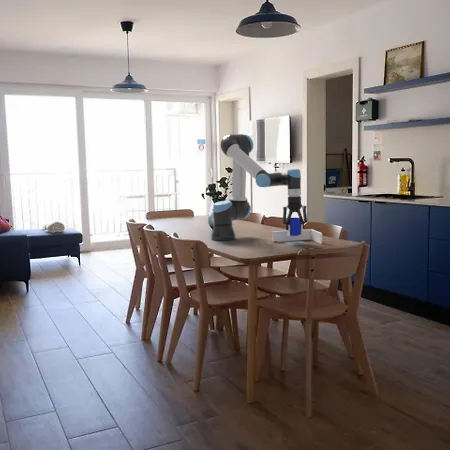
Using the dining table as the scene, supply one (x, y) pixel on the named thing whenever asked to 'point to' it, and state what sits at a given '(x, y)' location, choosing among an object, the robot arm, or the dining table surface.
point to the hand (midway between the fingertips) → (295, 235)
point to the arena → (306, 236)
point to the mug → (295, 226)
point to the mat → (295, 243)
